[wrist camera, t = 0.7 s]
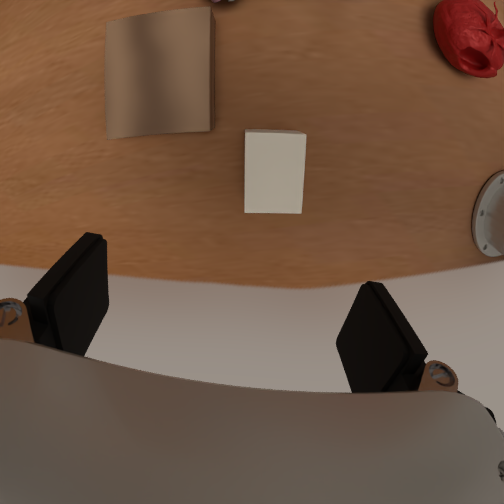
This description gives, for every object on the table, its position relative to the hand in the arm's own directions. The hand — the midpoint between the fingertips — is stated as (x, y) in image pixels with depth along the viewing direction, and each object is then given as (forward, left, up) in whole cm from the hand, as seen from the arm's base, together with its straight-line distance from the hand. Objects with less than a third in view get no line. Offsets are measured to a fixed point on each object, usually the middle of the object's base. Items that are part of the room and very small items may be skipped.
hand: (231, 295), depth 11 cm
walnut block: (+7, -10, -21) cm, 24 cm away
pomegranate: (-24, -19, -21) cm, 37 cm away
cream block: (-3, -1, -21) cm, 21 cm away
